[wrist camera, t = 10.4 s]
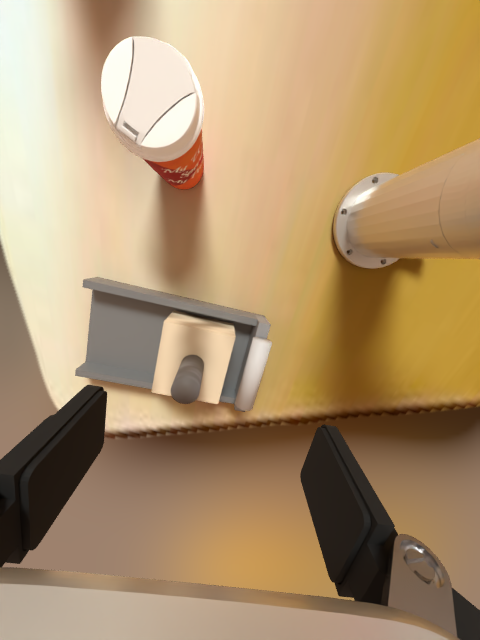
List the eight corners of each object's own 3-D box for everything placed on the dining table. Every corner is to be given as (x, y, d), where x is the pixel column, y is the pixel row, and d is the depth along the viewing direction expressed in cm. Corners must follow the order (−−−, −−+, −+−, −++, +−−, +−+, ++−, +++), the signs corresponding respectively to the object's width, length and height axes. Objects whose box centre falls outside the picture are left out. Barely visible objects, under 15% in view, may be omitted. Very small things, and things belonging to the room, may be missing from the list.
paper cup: (191, 210, 32) (167, 177, 18) (140, 172, 30) (73, 105, 17) (223, 158, 30) (224, 81, 17) (173, 115, 29) (128, -9, 15)
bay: (267, 316, 36) (278, 331, 29) (245, 393, 40) (249, 424, 33) (97, 277, 33) (61, 283, 26) (88, 364, 37) (55, 391, 29)
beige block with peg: (233, 323, 35) (238, 356, 24) (218, 381, 38) (216, 437, 26) (174, 310, 34) (148, 338, 22) (162, 370, 36) (134, 424, 25)
